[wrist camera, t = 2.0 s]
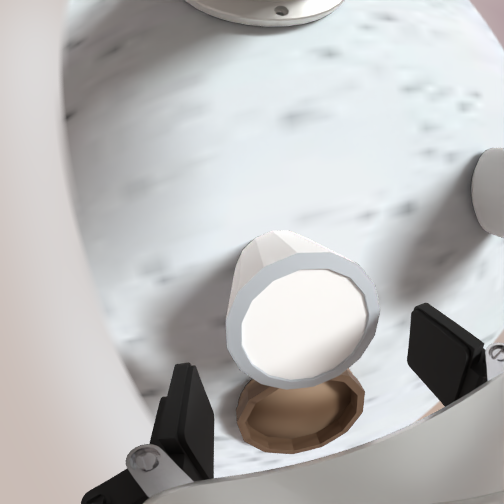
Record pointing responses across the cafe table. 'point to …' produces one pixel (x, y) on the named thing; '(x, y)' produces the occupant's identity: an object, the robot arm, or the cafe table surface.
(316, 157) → the cafe table surface
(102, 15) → the cafe table surface
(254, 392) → the round bowl
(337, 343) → the white tapered cylinder
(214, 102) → the cafe table surface
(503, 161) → the can
